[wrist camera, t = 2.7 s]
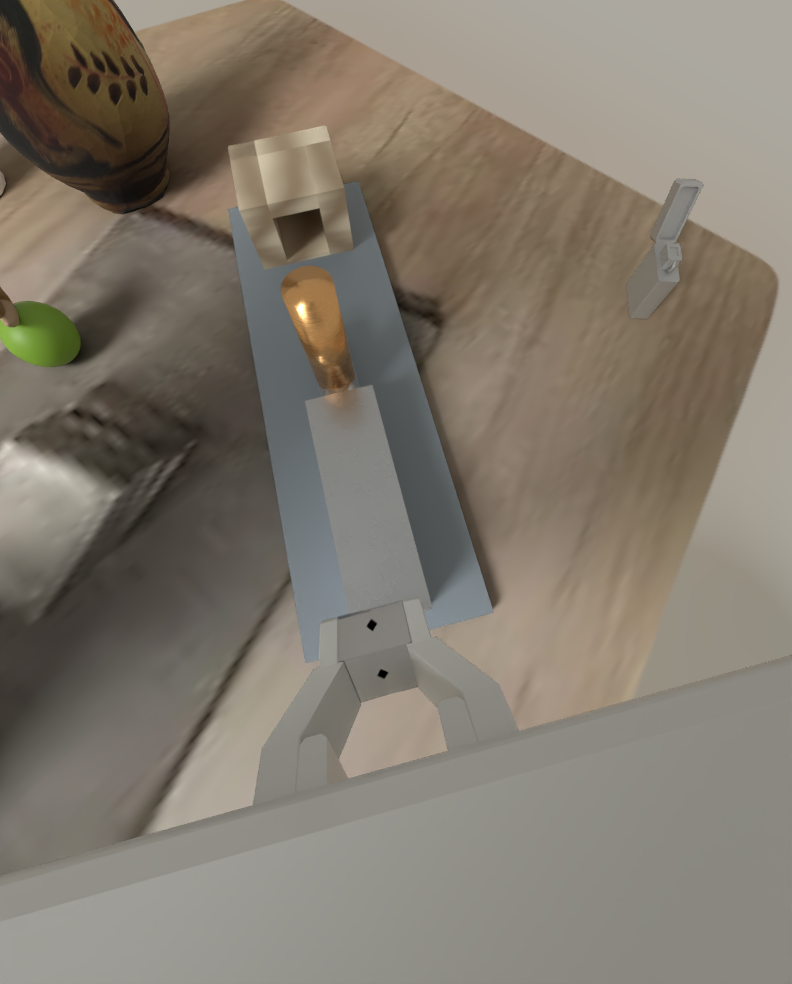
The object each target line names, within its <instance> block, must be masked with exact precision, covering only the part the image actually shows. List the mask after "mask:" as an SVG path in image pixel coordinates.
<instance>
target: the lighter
mask: <svg viewBox="0 0 792 984" xmlns="http://www.w3.org/2000/svg"><path fill="white" fill-rule="evenodd" d="M702 187H703V183H702V182H700V181H698V180H695V179H676V180H675V181H674V183H673V185H672V187H671V189H670V192H669V194H668V196H667V199H666V201H665V203H664V205H663V208H662V210H661V212H660V214H659V217H658V219H657V221H656V224H655V226H654V228H653V230H652V233H651V235H650V237H651V239H652V240H653V241H654V242H656V243H655V244H654V245H653V247H652V248H651V250H650V251H649V253H648V254H647V256H646V257H645V259H644V260H643V261H642V263H641V264H640V266H639V267H638V269H637V270H636V272H635V273H634V275H633V276H632V277H631V279H630V280H629V282H628V283H627V293H628V304H629V316H630V317H631V318H637V319H647V318H649V316H650V315H651V314H652V313H653V312H654V311H655V309H656V308H657V307H658V306H659V305H660V303H661V302H662V301H663V300H664V299H665V297H666V296H667V295H668V294H669V293H670V292H671V290H672V289H673V288H674V287H675V286H676V284H677V283H678V282H679V281H680V278H679V270H678V264H679V263H680V262H681V261H682V254H681V247H680V244H679V243H675V242H676V241H677V239H678V237H679V235H680V233H681V230H682V228H683V226H684V224H685V222H686V220H687V218H688V216H689V214H690V212H691V210H692V208H693V206H694V204H695V202H696V200H697V197H698V195H699V194H700V191H701V189H702Z"/></svg>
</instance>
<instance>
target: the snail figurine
mask: <svg viewBox="0 0 792 984" xmlns="http://www.w3.org/2000/svg"><path fill="white" fill-rule="evenodd" d="M0 339H1V340H2V342H3V344H4V345H5V346H6V347H7V348H8V350H9V351H11V352H12V353H13V354H14V355H15V356H17V357H18V358H20V359H22V360H24V361H26V362H28V363H31V364H34V365H37V366H42V367H57V366H62V365H65V364H67V363H69V362H71V361H72V360H73V359H74V358H75V357H76V356H77V354H78V353H79V350H80V346H81V339H80V335H79V332H78V330H77V328H76V326H75V325H74V323H73V322H72V321H71V320H70V319H69V318H68V317H67V316H66V315H65V314H63V313H62V312H61V311H59V310H57V309H56V308H54V307H52V306H49V305H47V304H43V303H39V302H33V301H23V302H17V303H14V304H13V303H12V301H11V300H10V298H9V297H8V296H7V295H6V293H5V292H4V291H3V290H2V288H1V287H0Z"/></svg>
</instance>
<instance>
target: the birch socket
mask: <svg viewBox="0 0 792 984" xmlns="http://www.w3.org/2000/svg"><path fill="white" fill-rule="evenodd" d="M228 152H229V157H230V163H231V168H232V174H233V179H234V185H235V191H236V196H237V202H238V207H239V211H240V214H241V216H242V218H243V221H244V223H245V225H246V228H247V230H248V232H249V235H250V237H251V239H252V242H253V244H254V246H255V249H256V251H257V253H258V256H259V258H260V260H261V262H262V265H263V267H264V269H269V268H274V267H278V266H283V265H287V264H292V263H296V262H300V261H305V260H309V259H314V258H318V257H323V256H327V255H332V254H336V253H340V252H345V251H349V250H354V247H353V241H352V234H351V228H350V221H349V215H348V208H347V202H346V196H345V189H344V185H343V182H342V178H341V175H340V172H339V168H338V165H337V161H336V158H335V155H334V151H333V148H332V145H331V141H330V138H329V134H328V131H327V128H326V126H321V127H316V128H312V129H307V130H302V131H297V132H293V133H288V134H283V135H278V136H274V137H269V138H264V139H259V140H255V141H250V142H245V143H240V144H236V145H231V146H228Z"/></svg>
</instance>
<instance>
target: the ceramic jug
mask: <svg viewBox="0 0 792 984" xmlns="http://www.w3.org/2000/svg"><path fill="white" fill-rule="evenodd" d="M0 133H1V134H2V135H3V136H4V137H5V139H6V140H7V141H8V142H9V143H10V144H11V145H12V146H13V147H15V148H16V149H17V150H18V151H19V152H20V153H21V154H22V155H23V156H25V157H26V158H27V159H28V160H29V161H31V162H32V163H33V164H35V165H36V166H37V167H38V168H40V169H41V170H43V171H44V172H46V173H47V174H49V175H50V176H52V177H54V178H55V179H57V180H59V181H61V182H63V183H65V184H67V185H68V186H70V187H73V188H75V189H77V190H80V191H82V192H84V193H85V194H86V195H87V196H88V197H89V198H90V199H91V200H92V201H93V202H94V203H96V204H97V205H99V206H101V207H102V208H104V209H106V210H109V211H111V212H113V213H119V214H124V213H126V212H128V211H132V210H135V209H137V208H142V207H147V206H148V205H150V204H152V203H153V202H155V201H157V200H158V199H160V198H161V197H163V193H164V188H165V187H166V186H167V185H168V183H169V180H170V174H169V170H168V168H167V150H168V142H169V113H168V108H167V104H166V100H165V97H164V93H163V90H162V87H161V85H160V82H159V79H158V77H157V75H156V72H155V70H154V68H153V66H152V63H151V61H150V59H149V57H148V56H147V54H146V51H145V49H144V47H143V45H142V43H141V42H140V40H139V39H138V38H137V36H136V34H135V33H134V31H133V29H132V28H131V26H130V24H129V23H128V21H127V20H126V18H125V16H124V15H123V13H122V12H121V10H120V9H119V7H118V6H117V5H116V3H115V2H114V0H0Z"/></svg>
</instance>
